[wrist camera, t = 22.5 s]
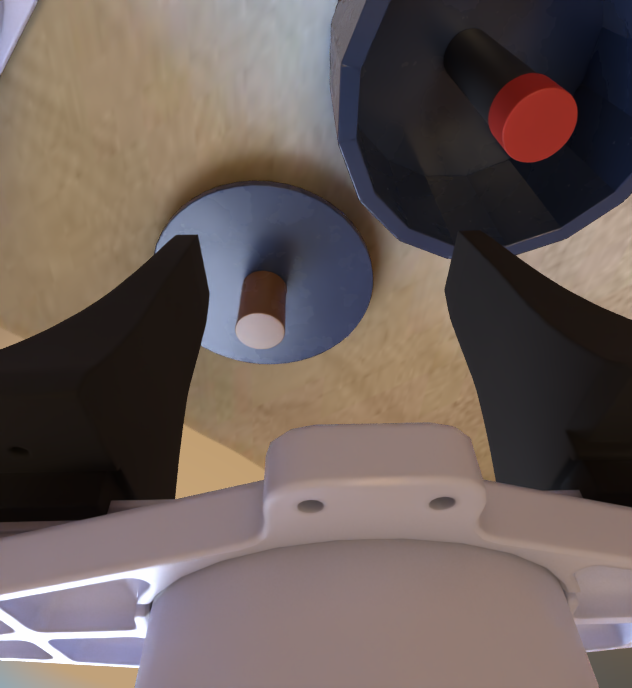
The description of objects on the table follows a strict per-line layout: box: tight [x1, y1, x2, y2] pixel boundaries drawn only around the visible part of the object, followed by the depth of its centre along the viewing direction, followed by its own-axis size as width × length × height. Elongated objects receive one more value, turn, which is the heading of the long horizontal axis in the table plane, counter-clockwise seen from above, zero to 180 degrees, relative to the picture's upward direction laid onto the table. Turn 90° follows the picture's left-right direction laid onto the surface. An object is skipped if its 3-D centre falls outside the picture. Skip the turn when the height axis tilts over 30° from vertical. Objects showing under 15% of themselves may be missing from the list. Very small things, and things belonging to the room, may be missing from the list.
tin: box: [330, 0, 632, 259], centre depth 16 cm, size 11×11×6 cm
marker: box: [444, 28, 578, 163], centre depth 16 cm, size 2×2×8 cm
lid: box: [154, 181, 373, 364], centre depth 24 cm, size 12×12×4 cm
